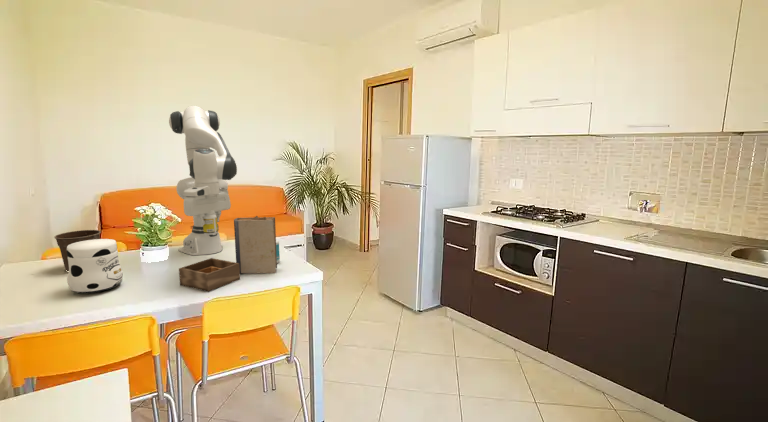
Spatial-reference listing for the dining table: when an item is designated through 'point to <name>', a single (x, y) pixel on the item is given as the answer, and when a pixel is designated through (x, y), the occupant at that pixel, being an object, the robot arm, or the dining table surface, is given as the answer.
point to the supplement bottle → (210, 223)
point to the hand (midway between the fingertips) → (209, 223)
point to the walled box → (209, 274)
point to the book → (255, 244)
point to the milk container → (93, 266)
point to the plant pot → (74, 241)
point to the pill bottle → (277, 251)
